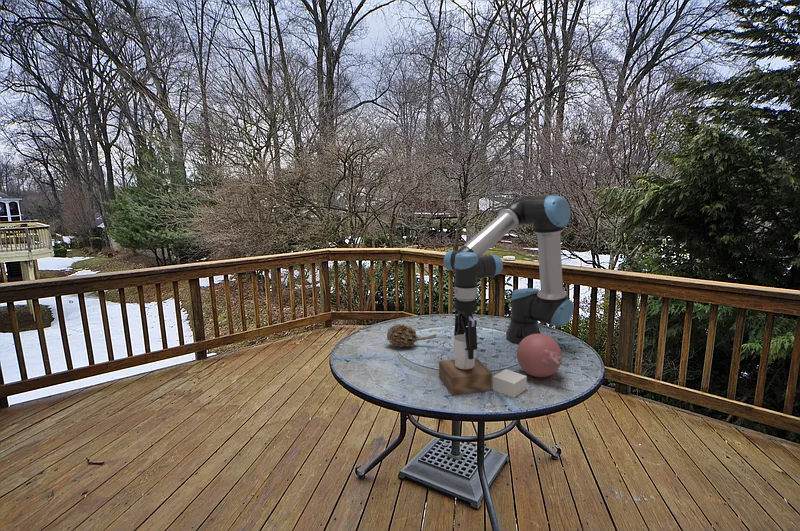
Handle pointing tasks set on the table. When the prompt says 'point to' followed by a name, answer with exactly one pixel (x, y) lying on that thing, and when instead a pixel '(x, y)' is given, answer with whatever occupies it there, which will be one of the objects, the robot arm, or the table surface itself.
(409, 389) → the table surface
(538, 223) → the robot arm
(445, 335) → the table surface
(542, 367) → the balloon
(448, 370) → the walnut block
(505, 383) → the pale block
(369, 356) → the table surface
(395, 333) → the pine cone
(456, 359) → the white cup
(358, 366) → the table surface
